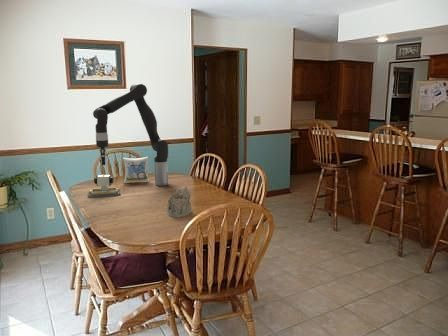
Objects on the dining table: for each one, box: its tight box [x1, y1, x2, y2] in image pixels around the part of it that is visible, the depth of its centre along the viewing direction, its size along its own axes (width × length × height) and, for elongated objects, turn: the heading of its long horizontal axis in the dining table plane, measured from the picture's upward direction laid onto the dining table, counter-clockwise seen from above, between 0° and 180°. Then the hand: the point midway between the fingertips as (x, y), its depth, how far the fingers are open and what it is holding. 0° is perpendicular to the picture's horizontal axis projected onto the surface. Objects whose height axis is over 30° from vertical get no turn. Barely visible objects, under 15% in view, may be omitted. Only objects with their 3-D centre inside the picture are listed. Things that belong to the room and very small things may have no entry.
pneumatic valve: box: [93, 173, 114, 192], centre depth 252 cm, size 6×12×12 cm, turn 96°
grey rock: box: [166, 185, 193, 218], centre depth 211 cm, size 16×16×15 cm
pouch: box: [122, 155, 150, 184], centre depth 286 cm, size 8×19×20 cm, turn 101°
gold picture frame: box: [87, 186, 122, 199], centre depth 253 cm, size 20×14×3 cm
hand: (103, 164), depth 250 cm, fingers open, 8 cm apart
